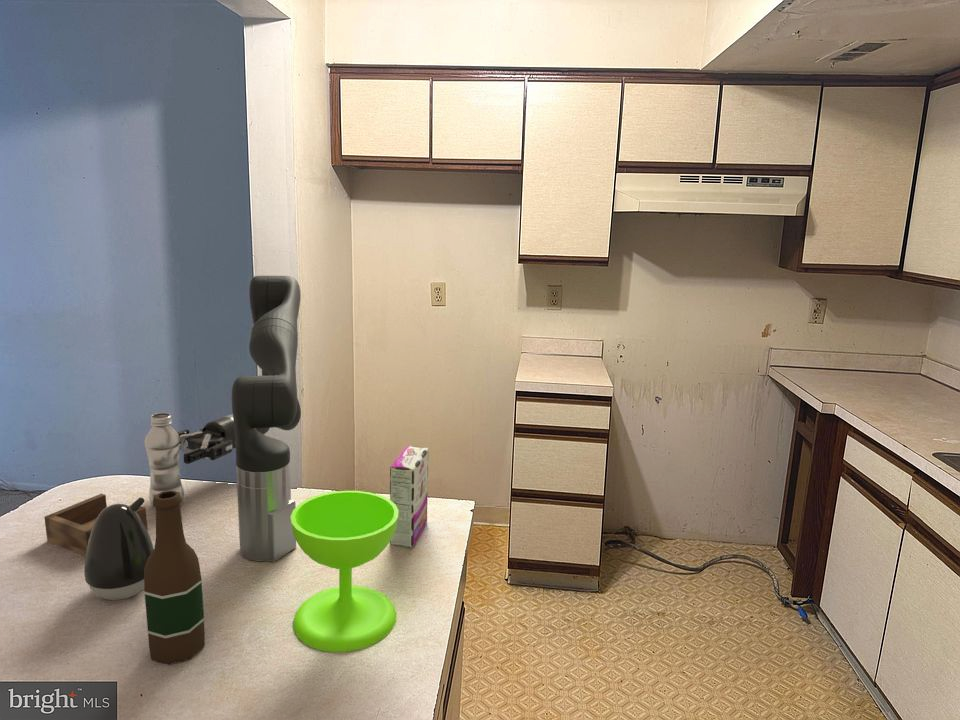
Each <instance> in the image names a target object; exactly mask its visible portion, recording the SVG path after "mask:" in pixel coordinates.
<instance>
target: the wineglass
mask: <svg viewBox="0 0 960 720" xmlns="http://www.w3.org/2000/svg"><path fill="white" fill-rule="evenodd" d="M398 512H399V510H398V508H397V506H396V504H394V503H393V502H392V501H391V500H390V498H387V497H385V496H384V495H381V494H377V493H373V492H369V491H362V490H338V491H329V492H326V493H322V494H317V495H314V496H312V497H310V498H307V499H306V500H303V501H302V502H300V503H299V504H297V506H296V508H295V509H294V510H293V512H292V514H291V523H292V529H293V534H294V537H295V539H296V544H298V547H299V548H300V549H301V550H302V552H303V553H304V554H306V556H307V557H309V559H310V560H312V561H314V562H315V563H317V564H320V565H322V566H325V567H328V568H331V569H335V570H339V571H338V578H339V581H338V584H339V586H334V587H331V588H327V589H325V590H324V589H323V590H321V591H320V592H317V593H315V594H313V595H311V596H310V597H309V598H308V599H306V600H305V601H304V602H302V604H301V605H300V606H299V607H298V609H297V610H296V612H295V614H294V617H293V621H292V626H293V627H292V628H293V632H294V634H295V635H296V637H297V639H298V640H299V641H301V642H302V643H303V644H305V646H309V647H311V648H312V649H313V648H314V649H316V650H318V651H324V652H329V653H330V652H331V653H344V652H345V653H346V652H347V653H348V652H352V651H357V650H359V651H360V650H361V649H362V650H363V649H365V648H368V647H371V646H373V645H375V644H377V643H378V642H380V641H381V640H383V639H385V637H386V636H388V634H389V633H391V632H392V631H393V628H394V627H395V625H396V622H397V615H398V614H397V610H396V608H395V605H394V603H393V602H392V601H391V600H390V599H389V598H388V596H387V595H385V594H383V593H382V592H380V591H378V590H376V589H373V588H370V587H368V586H367V587H366V586H361V585H353V578H352V577H353V573H352V572H353V569H354V568H357V567H361V566H363V565H364V564H366V563H367V564H368V563H369V562H370V561H373V560H374V559H376V558H377V557H378V556H380V555H381V553H382V552H383V551H384V550H385V549H386V548H387V547H388V545H390V541H391V539H392V537H393V535H394V533H395V531H396V527H397V521H398Z"/></svg>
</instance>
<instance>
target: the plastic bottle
mask: <svg viewBox="0 0 960 720" xmlns="http://www.w3.org/2000/svg"><path fill="white" fill-rule="evenodd" d="M172 424H173V420H172V414H171V413H169V412H157V413H153V414H151V415H150V426H151V428H150V430H149V431H148V432H147V434H146V435H145V438H144V441H143V442H144V447H145V450H146V454H147V455H146V456H147V459H148V467H149V471H150V473H149V474H150V475H149V476H150V477H149V478H150V480H149V481H150V483H149V490H148V500H149V503H150V505H151V507H153V509H155V510H156V507H154V506H153V499H154V496H155V495H157V494H159V493H160V492H164V491H176V492H179V493H180V495H181V498H182V502H181V503H180V506H181V505H182V504H183V502H184V499H185V490H184V486H183V483H182V478H181V474H180V465H179V463H180V460H179V458H180V450H179V448H180V445H181V444H180V437H179V435H178V433H177V432H178V431H176V430H175V428H173V426H171V425H172Z"/></svg>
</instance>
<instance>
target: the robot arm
mask: <svg viewBox="0 0 960 720" xmlns="http://www.w3.org/2000/svg"><path fill="white" fill-rule="evenodd" d="M248 289H249V290H248V291H249V296H248V297H249V305H250V312H251V313H250V314H251V317H252V324H253V326H252V327H251V331H250V338H249V346H248V349H249V354H250V357H251V359H252V361H253V362H254V363H255V364H256V366H258V367H259V368H260V369H261V375H242V376H238V377H237V378H235V380H234V382H233V385H232V388H231V409H232V410H231V411H232V414H228V415H225V416H222V417H220V418H217V419H214V420H212V421H208V422H207V423H205V424H204V425H203V428H202V430H200V431H195V432H193V433H191V430H190V429H187V428H186V429H183V430H180V431H176V432H177V433H178V435H179V437H180V448H179V451H181V452H185V453H184V454H183V463H184V464H186V465H190V464H192V463H194V462H197V461H199V460H207V459H208V458H209V460H210V461H215V460H217V459H219V458H221V457H224V456H226V455H228V454H230V453H232V452H233V449H235V461H236V462H235V463H236V466H235V467H236V489H237V490H236V491H237V513H238V514H237V517H238V533H239V534H238V535H239V552H240V555H241V556H242V557H243V558H245V560H250V561H255V562H266V561H270V562H277V561H278V560H280V559H281V558H283V557H284V556H285V555H286V554H288V553H290V552H291V551H293V550H294V549H296V548H297V541H296V539H295V537H294V534H293V529H292V523H291V514H292V512H293V510H294V509H295V508H296V507H297V506H296V501H295V500H294V499H292V494H291V493H292V491H291V490H292V489H291V488H292V487H291V451H290V450H291V449H290V447H289V446H288V444H287V443H286V442H284V441H282V440H279V439H276V438H273V437H271V436H267V435H265V434H266V433H268V431H269V430H270V428H272V429H273V428H274V429H276V428H277V429H280V430H282V431H291V430H294V429H295V428H297V426H298V425H299V423H300V422H301V421H300V419H301V417H302V416H301V415H302V410H301V405H300V401H299V399H298V388H297V371H296V369H297V368H296V365H297V355H298V345H299V343H298V342H299V341H298V340H299V337H298V335H299V333H298V331H299V330H298V318H299V313H300V312H299V311H300V307H301V299H302V298H301V287H300V285H299V282H298V281H297V279H296V278H295V277H293V276H290V275H255V276H253V277H252V278H251V280H250V283H249V288H248ZM185 444H187V446H185Z"/></svg>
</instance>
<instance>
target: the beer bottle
mask: <svg viewBox="0 0 960 720" xmlns="http://www.w3.org/2000/svg"><path fill="white" fill-rule="evenodd" d="M181 502H182V498H181V495H180V493H179V492H176V491H164V492H160V493H159V494H157V495H155V496H154V499H153V506H154V507H156V509H155V540H154V541H155V542H154V547H153V548H154V550H153V551H152V553H151V554H150V556H149V557H148V559H147V562H146V565H145V568H144V589H143V591H144V600H145V601H144V602H145V604H144V605H145V612H146V626H147V627H146V628H147V639H148V648H149V649H148V650H149V655H150V660H152V661H153V662H157V663H161V664H164V665H167V666H169V665H170V666H171V665H174V664H177V663H181V662H186V661H189V660H192V659H193V658H194V657H195V656H196V655H197V654H199V652H200V651H202V649H204V647H206V646H205V645H206V631H205V630H206V628H205V613H204V598H203V597H204V596H203V594H204V593H203V580H202V574H201V566H200V560H199V557H198V556H197V553H196V551H195V549H194V548H193V547H192V546H191V545H189V543H188V542H187V541H186V537H185V534H184V526H183V520H182V519H183V518H182V513H181V512H182V511H181V505H180V503H181ZM182 503H183V502H182ZM153 506H152V507H153ZM154 507H153V508H154Z"/></svg>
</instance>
